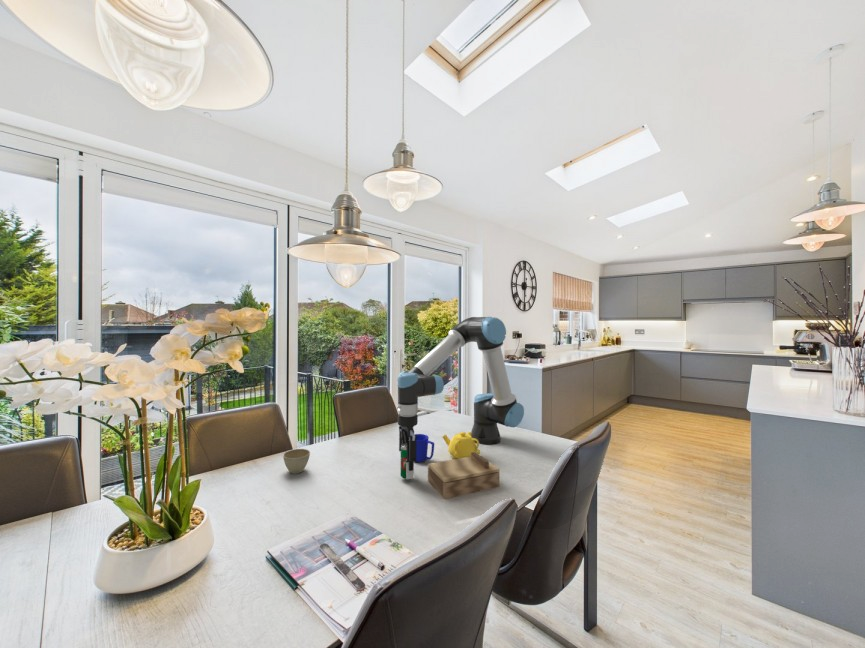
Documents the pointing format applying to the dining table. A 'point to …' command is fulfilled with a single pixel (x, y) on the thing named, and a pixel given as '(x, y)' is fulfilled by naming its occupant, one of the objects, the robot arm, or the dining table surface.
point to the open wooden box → (463, 484)
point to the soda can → (403, 461)
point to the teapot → (462, 445)
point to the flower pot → (296, 460)
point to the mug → (423, 448)
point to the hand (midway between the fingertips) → (407, 474)
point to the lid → (462, 468)
